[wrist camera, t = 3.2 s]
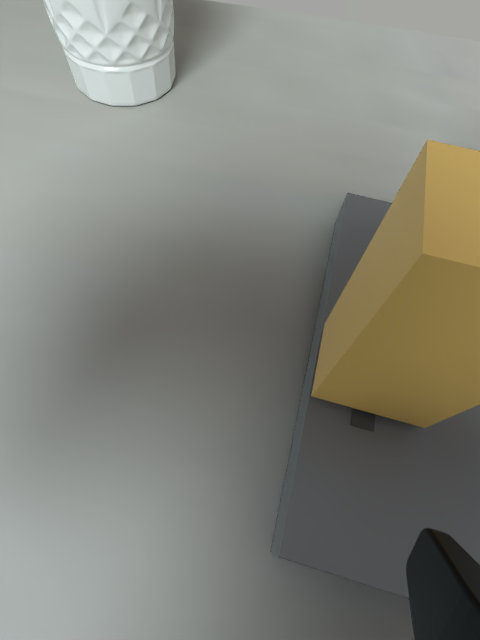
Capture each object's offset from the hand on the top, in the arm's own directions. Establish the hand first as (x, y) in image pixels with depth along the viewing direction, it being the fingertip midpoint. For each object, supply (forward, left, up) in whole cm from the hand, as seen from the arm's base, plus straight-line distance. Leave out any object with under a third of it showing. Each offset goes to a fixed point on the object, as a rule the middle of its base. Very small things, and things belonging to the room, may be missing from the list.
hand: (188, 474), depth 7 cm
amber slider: (+5, -5, -5) cm, 9 cm away
